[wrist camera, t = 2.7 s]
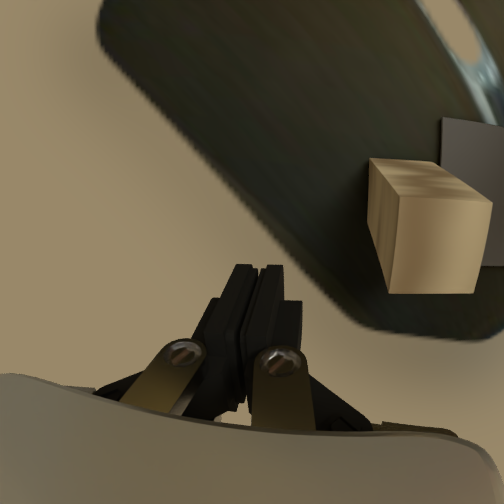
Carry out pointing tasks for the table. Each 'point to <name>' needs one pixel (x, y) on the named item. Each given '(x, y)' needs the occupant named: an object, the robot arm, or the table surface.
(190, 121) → the table surface
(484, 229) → the maple block
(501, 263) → the mat
